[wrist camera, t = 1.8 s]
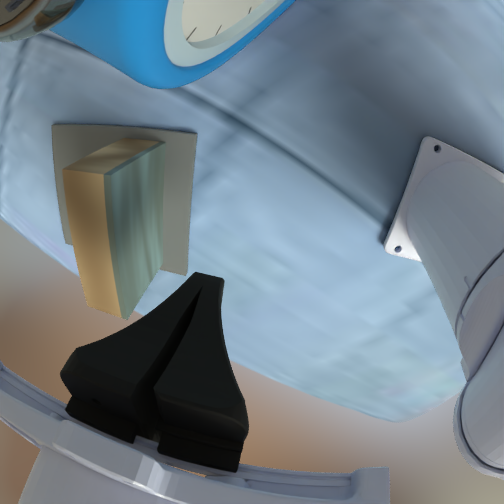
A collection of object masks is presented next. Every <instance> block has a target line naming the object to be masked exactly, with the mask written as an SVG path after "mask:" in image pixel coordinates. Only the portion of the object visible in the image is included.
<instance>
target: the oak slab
mask: <svg viewBox="0 0 504 504" xmlns="http://www.w3.org/2000/svg"><path fill="white" fill-rule="evenodd" d="M165 150H166V142H158V141H150V140H140V139H130V138H123V139H121V140H118V141H116V142H114V143H112V144H110V145H108V146H106V147H104V148H101V149H99V150H97V151H95V152H93V153H91V154H89V155H87V156H85V157H84V158H82V159H80V160H78V161H76V162H74V163H72V164H70V165H69V166H67V167H65V168H63V169H62V174H63V184H64V192H65V200H66V208H67V214H68V221H69V226H70V232H71V238H72V243H73V248H74V253H75V257H76V262H77V266H78V270H79V275H80V279H81V283H82V286H83V290H84V294H85V298H86V301H87V304H88V306H89V307H92V308H95V309H97V310H100V311H103V312H106V313H109V314H111V315H114V316H117V317H120V318H123V319H126V320H128V318H129V317H130V315H131V313H132V312H133V310H134V308H135V307H136V305H137V303H138V302H139V300H140V299H141V297H142V295H143V294H144V292H145V291H146V289H147V287H148V286H149V284H150V283H151V281H152V280H153V278H154V276H155V275H156V273H157V272H158V270H159V269H160V267H161V266H162V264H163V192H164V167H165Z"/></svg>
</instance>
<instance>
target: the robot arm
mask: <svg viewBox="0 0 504 504" xmlns="http://www.w3.org/2000/svg"><path fill="white" fill-rule="evenodd" d="M437 144H438V146H439V149H438V151H434V147H435V145H437ZM383 246H384V250H385V251H386V252H387V253H389V254H393V255H397V256H401V257H404V258H408V259H412V260H416V261H420V262H422V263H423V265H424V267H425V269H426V271H427V273H428V275H429V277H430V279H431V281H432V283H433V286H434V288H435V290H436V292H437V294H438V296H439V298H440V301H441V303H442V305H443V307H444V310H445V312H446V314H447V317H448V319H449V322H450V324H451V326H452V329H453V331H454V334H455V337H456V339H457V342H458V345H459V348H460V350H461V353H462V355H463V358H462V360H461V365H462V368H463V372H464V375H465V378H466V381H467V383H466V384H465V386H464V387H463V389H462V390H461V392H460V394H459V397H458V399H457V402H456V405H455V409H454V416H453V429H454V436H455V440H456V443H457V446H458V449H459V451H460V452H461V454H462V456H463V457H464V459H465V460H466V461H467V462H468V464H469V465H471V466H472V467H473V468H474V469H476V470H477V471H479V472H481V473H483V474H486V475H490V476H493V477H498V478H500V479H502V480H504V174H503V173H501V172H500V171H498V170H496V169H495V168H493V167H491V166H489V165H487V164H486V163H484V162H482V161H480V160H478V159H476V158H474V157H472V156H471V155H469V154H467V153H465V152H463V151H461V150H459V149H457V148H454V147H452V146H450V145H448V144H446V143H444V142H442V141H439V140H437V139H435V138H433V137H429V136H427V137H425V138H424V139H423V140H422V142H421V145H420V148H419V152H418V155H417V158H416V161H415V164H414V167H413V170H412V173H411V175H410V178H409V181H408V184H407V187H406V189H405V192H404V195H403V197H402V200H401V203H400V205H399V208H398V210H397V213H396V215H395V218H394V220H393V223H392V225H391V227H390V230H389V232H388V235H387V237H386V239H385V241H384V245H383ZM396 246H400V248H399V249H395V247H396ZM223 288H224V279H223V278H220V277H215V276H211V275H207V274H203V273H198V272H195V273H193V274H192V275H191V276H190V277H189V278H188V279H187V280H186V281H185V282H184V283H183V284H182V285H181V286H180V287H179V288H178V289H177V290H176V291H175V292H174V293H173V294H172V295H170V296H169V297H168V298H167V299H166V300H165V301H163V302H162V303H161V304H160V305H158V306H157V307H156V308H155V309H153V310H152V311H151V312H149V313H148V314H147V315H145V316H144V317H142V318H141V319H139V320H138V321H136V322H134V323H133V324H131V325H130V326H128V327H126V328H124V329H122V330H120V331H118V332H117V333H114V334H112V335H110V336H108V337H105V338H104V339H101V340H99V341H96V342H93V343H90V344H87V345H85V346H81V347H78V348H76V350H75V351H74V352H73V353H72V354H71V356H70V357H69V359H68V360H67V362H66V364H65V365H64V367H63V369H62V370H61V372H60V376H61V379H62V381H63V383H64V384H65V386H66V387H67V389H68V390H69V392H70V393H71V395H72V397H71V399H70V401H69V403H68V404H65V403H63V402H62V401H60V400H58V399H56V398H54V397H52V396H51V395H49V394H47V393H45V392H44V391H42V390H40V389H39V388H37V387H35V386H34V385H32V384H31V383H29V382H27V381H25V380H24V379H23V378H21V377H20V376H18V375H17V374H15V373H14V372H12V371H11V370H9V369H8V368H6V367H5V366H4V365H3V363H2V362H1V361H0V420H1V421H3V422H4V423H5V424H7V425H8V426H9V427H10V428H12V429H13V430H14V431H16V432H17V433H18V434H20V435H21V436H23V437H24V438H25V439H27V440H28V441H30V442H31V443H32V444H34V445H35V446H37V447H38V448H40V449H41V450H40V452H39V455H38V457H37V459H36V461H35V463H34V466H33V468H32V470H31V473H30V475H29V477H28V480H27V482H26V485H25V487H24V490H23V492H22V495H21V497H20V500H19V503H18V504H390V478H389V467H369V468H360V469H357V470H355V471H353V472H352V473H319V472H303V471H291V470H281V469H273V468H265V467H258V466H252V465H246V464H240V463H239V461H240V456H241V452H242V449H243V444H244V440H245V439H246V437H247V435H248V430H249V422H248V416H247V410H246V405H245V400H244V398H243V396H242V393H241V391H240V389H239V387H238V384H237V381H236V379H235V376H234V373H233V370H232V367H231V364H230V361H229V357H228V354H227V350H226V345H225V340H224V335H223V328H222V319H221V303H222V296H223ZM163 463H164V464H163ZM166 464H167V465H166ZM169 465H170V466H169ZM171 466H174V467H178V468H181V469H184V470H188V471H192V472H196V473H200V474H204V475H206V476H205V477H201V476H198V475H195V474H192V473H189V472H186V471H183V470H180V469H177V468H174V467H171Z"/></svg>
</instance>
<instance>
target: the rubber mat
mask: <svg viewBox="0 0 504 504" xmlns="http://www.w3.org/2000/svg"><path fill="white" fill-rule="evenodd" d="M123 138H130V139H140V140H150V141H158V142H166V150H165V167H164V192H163V264H162V266H161V267H160V270H164V271H168V272H172V273H176V274H180V275H184V276H186V274H187V269H188V246H189V227H190V211H191V198H192V185H193V173H194V162H195V152H196V143H197V133H190V132H182V131H174V130H164V129H155V128H143V127H131V126H115V125H92V124H54V125H52V146H53V160H54V171H55V181H56V189H57V197H58V204H59V210H60V216H61V222H62V227H63V233H64V238H65V243H66V244H69V245H73V243H72V238H71V232H70V226H69V221H68V214H67V208H66V200H65V192H64V184H63V174H62V169H63V168H65V167H67V166H69V165H70V164H72V163H74V162H76V161H78V160H80V159H82V158H84V157H85V156H87V155H89V154H91V153H93V152H95V151H97V150H99V149H101V148H104V147H106V146H108V145H110V144H112V143H114V142H116V141H118V140H121V139H123Z"/></svg>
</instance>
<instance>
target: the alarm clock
mask: <svg viewBox="0 0 504 504" xmlns="http://www.w3.org/2000/svg"><path fill="white" fill-rule="evenodd" d="M295 1H296V0H0V42H12V41H17V40H23V39H26V38H29V37H32V36H34V35H37V34H39V33H42V32H44V31H47V30H51V31H53V32H55V33H56V34H58V35H60V36H62V37H64V38H66V39H67V40H69V41H71V42H73V43H74V44H76V45H78V46H80V47H81V48H83V49H85V50H87V51H88V52H90V53H92V54H93V55H95V56H97V57H98V58H100V59H102V60H103V61H105V62H107V63H108V64H110V65H112V66H113V67H115V68H116V69H118V70H120V71H121V72H123V73H124V74H126V75H128V76H129V77H131V78H132V79H134V80H135V81H137V82H138V83H141V84H143V85H146V86H148V87H151V88H156V89H169V88H176V87H181V86H183V85H186V84H189V83H191V82H193V81H196V80H198V79H200V78H202V77H204V76H205V75H207V74H209V73H210V72H212V71H214V70H215V69H217V68H218V67H219V66H221V65H222V64H224V63H225V62H226V61H228V60H229V59H230V58H232V57H233V56H234V55H236V54H237V53H238V52H239V51H240V50H242V49H243V48H244V47H245V46H246V45H248V44H249V43H250V42H251V41H252V40H253V39H255V38H256V37H257V36H258V35H259V34H260V33H261V32H262V31H264V30H265V29H266V28H267V27H268V26H269V25H270V24H271V23H272V22H273V21H275V20H276V19H277V18H278V17H279V16H280V15H281V14H282V13H283V12H284V11H285V10H286V9H287V8H288V7H289V6H290V5H291V4H292V3H294V2H295Z"/></svg>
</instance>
